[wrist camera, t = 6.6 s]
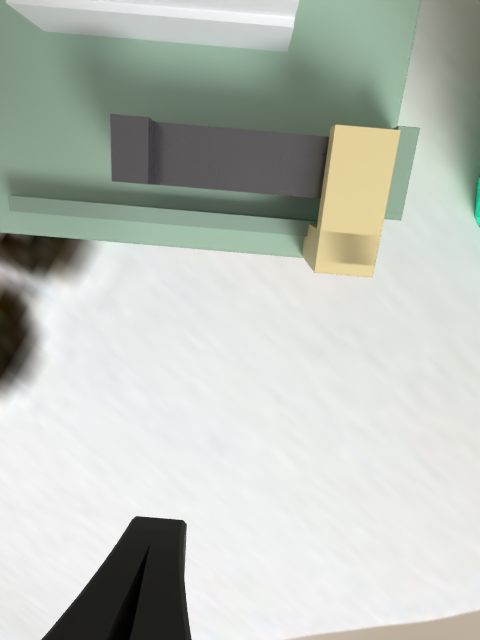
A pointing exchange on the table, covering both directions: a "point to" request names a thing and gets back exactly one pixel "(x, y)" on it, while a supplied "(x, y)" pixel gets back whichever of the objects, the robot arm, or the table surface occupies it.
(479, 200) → the candle
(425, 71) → the table surface
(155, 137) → the bar
